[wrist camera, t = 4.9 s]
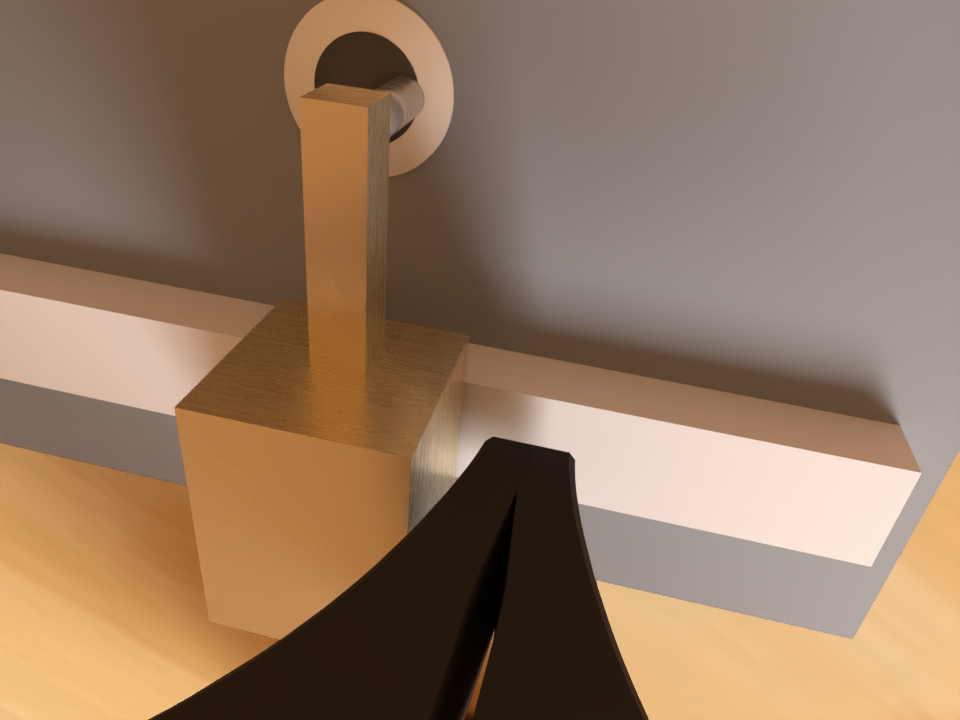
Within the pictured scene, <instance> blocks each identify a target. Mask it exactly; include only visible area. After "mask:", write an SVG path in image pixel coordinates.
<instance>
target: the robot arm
mask: <svg viewBox="0 0 960 720" xmlns="http://www.w3.org/2000/svg"><path fill="white" fill-rule="evenodd" d="M575 461H576V460H575V459H574V458H573V456H572V455H571V454H570V452H565V451H560V450H555V449H551V448H546V447H541V446H536V445H532V444H527V443H522V442H517V441H513V440H508V439H503V438H498V437H494V436H493V437H491V438H489V439H488V440H486V441H485V442H484V443H483V445H482V447H481V448H480V450H479V451H478V453H477V454H476V456H475V457H474V458H473V460H472V461H471V463H470V464H469V465H468V467H467V468H466V469H465V470H464V472H463V473H462V474H461V476H460V477H459V478H458V479H457V480H456V482H455V483H454V484H453V485H452V486H451V488H450V489H449V490H448V491H447V492H446V494H445V495H444V496H443V497H442V498H441V499H440V500H439V501H438V502H437V503H436V505H435V506H434V507H433V508H432V509H431V510H430V511H429V512H428V513H427V514H426V516H425V517H424V518H423V519H422V520H421V521H420V522H419V523H418V524H417V525H416V526H415V527H414V528H413V529H412V530H411V531H410V532H409V533H408V534H407V535H406V536H405V537H404V538H403V539H402V540H401V541H400V542H399V543H398V544H397V545H396V546H395V547H394V548H393V549H392V550H391V551H389V552H388V553H387V554H386V555H385V556H384V557H383V558H382V559H381V560H380V561H379V562H378V563H377V564H376V565H375V566H374V567H372V568H371V569H370V570H369V571H368V572H367V573H366V574H364V575H363V576H362V577H361V578H360V579H359V580H357V581H356V582H355V583H354V584H353V585H352V586H350V587H349V588H348V589H347V590H345V591H344V592H343V593H342V594H341V595H339V596H338V597H337V598H336V599H334V600H333V601H332V602H331V603H329V604H328V605H327V606H326V607H324V608H323V609H322V610H320V611H319V612H318V613H316V614H315V615H314V616H312V617H311V618H309V619H308V620H307V621H305V622H304V623H303V624H301V625H300V626H299V627H297V628H296V629H294V630H293V631H292V632H290V633H289V634H288V635H286V636H285V637H284V638H282V639H281V640H279V641H278V642H276V643H275V644H273V645H272V646H270V647H269V648H268V649H266V650H265V651H263V652H262V653H260V654H259V655H257V656H255V657H254V658H252V659H251V660H249V661H247V662H246V663H244V664H243V665H241V666H239V667H238V668H236V669H234V670H233V671H231V672H230V673H228V674H226V675H225V676H223V677H221V678H220V679H218V680H217V681H215V682H213V683H212V684H210V685H208V686H207V687H205V688H204V689H202V690H200V691H199V692H197V693H195V694H194V695H192V696H191V697H189V698H187V699H185V700H184V701H182V702H180V703H178V704H177V705H175V706H173V707H171V708H169V709H168V710H166V711H164V712H162V713H160V714H158V715H156V716H154V717H152V718H150V719H149V720H464V719H465V716H466V713H467V710H468V707H469V704H470V701H471V698H472V695H473V692H474V689H475V686H476V683H477V680H478V677H479V674H480V671H481V668H482V665H483V662H484V659H485V657H486V654H487V651H488V648H489V645H490V642H491V639H492V636H493V633H494V640H493V644H492V648H491V652H490V655H489V659H488V663H487V667H486V671H485V675H484V679H483V682H482V686H481V690H480V694H479V698H478V702H477V705H476V709H475V713H474V717H473V720H649V719H648V717H647V714H646V712H645V710H644V708H643V706H642V703H641V701H640V699H639V697H638V695H637V692H636V690H635V688H634V685H633V683H632V681H631V678H630V676H629V673H628V671H627V668H626V666H625V664H624V661H623V659H622V656H621V654H620V651H619V648H618V646H617V643H616V640H615V638H614V635H613V632H612V629H611V626H610V624H609V621H608V618H607V615H606V612H605V609H604V605H603V602H602V599H601V596H600V593H599V590H598V587H597V583H596V580H595V576H594V573H593V569H592V565H591V561H590V557H589V553H588V549H587V545H586V541H585V537H584V533H583V528H582V523H581V518H580V512H579V506H578V500H577V492H576V482H575ZM494 630H495V632H494Z"/></svg>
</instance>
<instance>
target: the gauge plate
mask: <svg viewBox="0 0 960 720" xmlns="http://www.w3.org/2000/svg"><path fill="white" fill-rule="evenodd" d="M398 76H408V77H411V78H412V79H414V80H415V81H417V82H418V83H419V85H420V86H421V88H422V90H423V92H424V97H425V102H424V107H423V109H422V111H421V112H420V113H419V114H418V115H417V116H416V117H415V118H414V119H412V120H411V121H410V122H409V123H407V124H406V125H405V126H404V127H402V128H401V129H400V130H399V131H397V132H396V133H395V134H394V135H392V136H391V137H390V144H389V185H388V225H387V265H386V305H385V319H389V320H395V321H400V322H405V323H410V324H416V325H421V326H426V327H432V328H437V329H442V330H447V331H453V332H458V333H463V334H468V335H469V346H468V356H467V366H466V377H465V387H464V397H463V408H462V418H461V429H460V439H459V449H458V460H457V470H456V480H457V479H458V478H459V477H460V476H461V474H462V473H463V472H464V470H465V469H466V468H467V467H468V465H469V464H470V463H471V461H472V460H473V458H474V457H475V456H476V454H477V453H478V451H479V450H480V448H481V447H482V445H483V443H484V442H485V441H486V440H488V439H489V438H491V437H493V436H494V437H498V438H503V439H508V440H513V441H517V442H522V443H527V444H532V445H536V446H541V447H546V448H551V449H555V450H560V451H565V452H570V454H571V455H572V456H573V458H574V459H575V460H576V461H575V482H576V492H577V500H578V506H579V512H580V518H581V523H582V528H583V533H584V537H585V541H586V545H587V549H588V553H589V557H590V561H591V565H592V569H593V573H594V576H595V580H598V581H602V582H607V583H611V584H615V585H620V586H624V587H628V588H633V589H637V590H642V591H646V592H650V593H655V594H659V595H663V596H668V597H672V598H676V599H681V600H685V601H689V602H694V603H698V604H702V605H707V606H711V607H715V608H720V609H724V610H728V611H733V612H737V613H741V614H746V615H750V616H755V617H759V618H763V619H768V620H772V621H776V622H781V623H785V624H789V625H794V626H798V627H802V628H807V629H811V630H815V631H820V632H824V633H828V634H833V635H837V636H841V637H846V638H850V639H853V638H854V636H855V634H856V633H857V631H858V629H859V627H860V626H861V624H862V622H863V620H864V618H865V617H866V615H867V613H868V611H869V610H870V608H871V606H872V604H873V602H874V601H875V599H876V597H877V595H878V594H879V592H880V590H881V588H882V587H883V585H884V583H885V581H886V579H887V578H888V576H889V574H890V572H891V571H892V569H893V567H894V565H895V564H896V562H897V560H898V558H899V556H900V555H901V553H902V551H903V549H904V548H905V546H906V544H907V542H908V540H909V539H910V537H911V535H912V533H913V532H914V530H915V528H916V526H917V525H918V523H919V521H920V519H921V517H922V516H923V514H924V512H925V510H926V509H927V507H928V505H929V503H930V501H931V500H932V498H933V496H934V494H935V493H936V491H937V489H938V487H939V486H940V484H941V482H942V480H943V478H944V477H945V475H946V473H947V471H948V470H949V468H950V466H951V464H952V463H953V461H954V459H955V457H956V455H957V454H958V452H959V450H960V0H0V443H3V444H7V445H11V446H16V447H20V448H24V449H29V450H33V451H37V452H42V453H46V454H50V455H55V456H59V457H63V458H68V459H72V460H76V461H81V462H85V463H90V464H94V465H98V466H103V467H107V468H111V469H116V470H120V471H124V472H129V473H133V474H137V475H142V476H146V477H150V478H155V479H159V480H163V481H168V482H172V483H176V484H181V485H185V486H187V483H186V476H185V470H184V464H183V458H182V452H181V446H180V439H179V433H178V427H177V421H176V415H175V409H174V407H175V406H176V405H177V404H178V403H179V402H180V401H181V400H182V399H183V398H184V397H185V396H186V395H187V394H188V393H189V392H190V391H191V390H192V389H193V388H194V387H195V386H196V385H197V384H198V383H199V382H200V381H201V380H202V379H203V378H204V377H205V376H206V375H207V374H208V373H209V372H210V371H211V370H212V369H213V368H214V367H215V366H216V365H217V364H218V363H219V362H220V361H221V360H222V359H223V358H224V357H225V356H226V355H227V354H228V353H229V352H230V351H231V350H232V349H233V348H234V347H235V346H236V345H237V344H238V343H239V342H240V341H241V340H242V339H243V338H244V337H245V336H246V335H247V334H248V333H249V332H250V331H251V330H252V329H253V328H254V327H255V326H256V325H257V324H258V323H259V322H260V321H261V320H262V319H263V318H264V317H265V316H266V315H267V314H268V313H269V312H270V311H271V310H272V309H273V308H274V307H275V306H276V305H277V304H278V303H279V302H280V301H281V300H282V299H284V300H289V301H295V302H300V303H305V304H307V280H306V254H305V229H304V203H303V178H302V152H301V127H300V102H299V97H301V96H303V95H305V94H307V93H309V92H311V91H313V90H315V89H317V88H319V87H321V86H323V85H325V84H327V83H329V84H336V85H343V86H349V87H356V88H363V89H370V90H375V89H377V88H379V87H380V86H382V85H384V84H385V83H387V82H389V81H390V80H392V79H394V78H395V77H398ZM456 480H455V482H456Z"/></svg>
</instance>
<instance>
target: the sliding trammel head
mask: <svg viewBox="0 0 960 720" xmlns="http://www.w3.org/2000/svg"><path fill="white" fill-rule="evenodd" d="M299 102H300V127H301V152H302V178H303V203H304V229H305V254H306V280H307V304H305V303H300V302H295V301H289V300H284V299H282V300H281V301H280V302H279V303H278V304H277V305H276V306H275V307H274V308H273V309H272V310H271V311H270V312H269V313H268V314H267V315H266V316H265V317H264V318H263V319H262V320H261V321H260V322H259V323H258V324H257V325H256V326H255V327H254V328H253V329H252V330H251V331H250V332H249V333H248V334H247V335H246V336H245V337H244V338H243V339H242V340H241V341H240V342H239V343H238V344H237V345H236V346H235V347H234V348H233V349H232V350H231V351H230V352H229V353H228V354H227V355H226V356H225V357H224V358H223V359H222V360H221V361H220V362H219V363H218V364H217V365H216V366H215V367H214V368H213V369H212V370H211V371H210V372H209V373H208V374H207V375H206V376H205V377H204V378H203V379H202V380H201V381H200V382H199V383H198V384H197V385H196V386H195V387H194V388H193V389H192V390H191V391H190V392H189V393H188V394H187V395H186V396H185V397H184V398H183V399H182V400H181V401H180V402H179V403H178V404H177V405H176V406H175V407H174V409H175V415H176V421H177V427H178V433H179V439H180V446H181V452H182V458H183V464H184V470H185V476H186V483H187V489H188V495H189V501H190V507H191V513H192V519H193V526H194V532H195V538H196V544H197V550H198V556H199V563H200V569H201V575H202V581H203V587H204V593H205V599H206V606H207V612H208V618H209V622H212V623H216V624H220V625H224V626H228V627H231V628H235V629H239V630H243V631H247V632H251V633H255V634H259V635H263V636H267V637H271V638H274V639H278V640H281V639H282V638H284V637H285V636H286V635H288V634H289V633H290V632H292V631H293V630H294V629H296V628H297V627H299V626H300V625H301V624H303V623H304V622H305V621H307V620H308V619H309V618H311V617H312V616H314V615H315V614H316V613H318V612H319V611H320V610H322V609H323V608H324V607H326V606H327V605H328V604H329V603H331V602H332V601H333V600H334V599H336V598H337V597H338V596H339V595H341V594H342V593H343V592H344V591H345V590H347V589H348V588H349V587H350V586H352V585H353V584H354V583H355V582H356V581H357V580H359V579H360V578H361V577H362V576H363V575H364V574H366V573H367V572H368V571H369V570H370V569H371V568H372V567H374V566H375V565H376V564H377V563H378V562H379V561H380V560H381V559H382V558H383V557H384V556H385V555H386V554H387V553H388V552H389V551H391V550H392V549H393V548H394V547H395V546H396V545H397V544H398V543H399V542H400V541H401V540H402V539H403V538H404V537H405V536H406V535H407V534H408V533H409V532H410V531H411V530H412V529H413V528H414V527H415V526H416V525H417V524H418V523H419V522H420V521H421V520H422V519H423V518H424V517H425V516H426V514H427V513H428V512H429V511H430V510H431V509H432V508H433V507H434V506H435V505H436V503H437V502H438V501H439V500H440V499H441V498H442V497H443V496H444V495H445V494H446V492H447V491H448V490H449V489H450V488H451V486H452V485H453V484H454V483H455V480H456V470H457V460H458V449H459V439H460V429H461V418H462V408H463V397H464V387H465V377H466V366H467V356H468V346H469V335H468V334H463V333H458V332H453V331H447V330H442V329H437V328H432V327H426V326H421V325H416V324H410V323H405V322H400V321H395V320H389V319H385V305H386V265H387V225H388V185H389V144H390V137H391V136H392V135H394V134H395V133H396V132H397V131H399V130H400V129H401V128H402V127H404V126H405V125H406V124H407V123H409V122H410V121H411V120H412V119H414V118H415V117H416V116H417V115H418V114H419V113H420V112H421V111H422V109H423V107H424V102H425V97H424V92H423V90H422V88H421V86H420V85H419V83H418V82H417V81H415V80H414V79H412V78H411V77H408V76H398V77H395V78H394V79H392V80H390V81H389V82H387V83H385V84H384V85H382V86H380V87H379V88H377V89H375V90H370V89H363V88H356V87H349V86H343V85H336V84H329V83H327V84H325V85H323V86H321V87H319V88H317V89H315V90H313V91H311V92H309V93H307V94H305V95H303V96H301V97H299Z"/></svg>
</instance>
